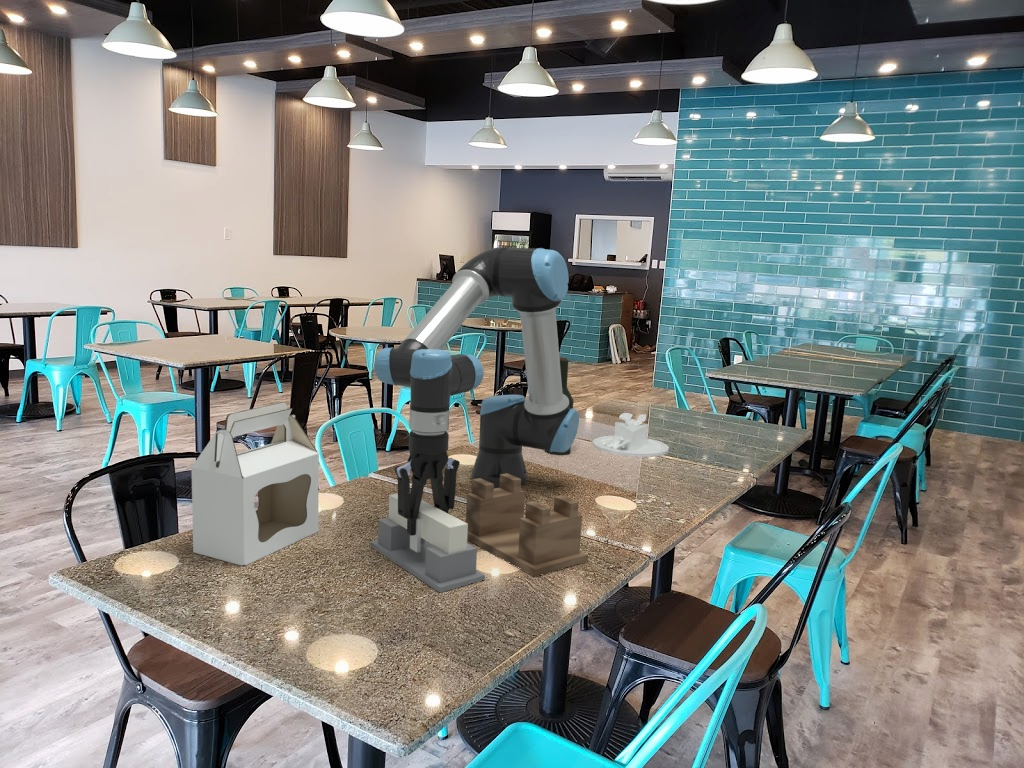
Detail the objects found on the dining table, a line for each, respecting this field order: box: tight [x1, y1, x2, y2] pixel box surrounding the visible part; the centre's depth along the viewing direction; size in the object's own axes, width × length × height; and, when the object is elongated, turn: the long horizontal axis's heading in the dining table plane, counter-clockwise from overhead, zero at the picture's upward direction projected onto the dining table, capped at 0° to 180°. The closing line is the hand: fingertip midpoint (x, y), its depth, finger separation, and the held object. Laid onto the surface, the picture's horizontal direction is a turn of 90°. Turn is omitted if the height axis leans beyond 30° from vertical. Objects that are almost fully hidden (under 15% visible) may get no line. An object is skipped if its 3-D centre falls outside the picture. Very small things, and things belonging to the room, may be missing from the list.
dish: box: [591, 412, 670, 458], centre depth 250 cm, size 25×25×11 cm
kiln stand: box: [369, 517, 486, 593], centre depth 149 cm, size 26×10×6 cm, turn 39°
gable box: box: [191, 401, 320, 567], centre depth 154 cm, size 22×13×28 cm, turn 155°
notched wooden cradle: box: [465, 473, 589, 577], centre depth 159 cm, size 26×14×12 cm, turn 39°
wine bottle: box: [544, 356, 575, 456], centre depth 238 cm, size 8×8×30 cm
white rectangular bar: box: [388, 493, 468, 554], centre depth 148 cm, size 22×4×5 cm, turn 39°
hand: (425, 547), depth 149 cm, fingers closed on white rectangular bar, 4 cm apart
